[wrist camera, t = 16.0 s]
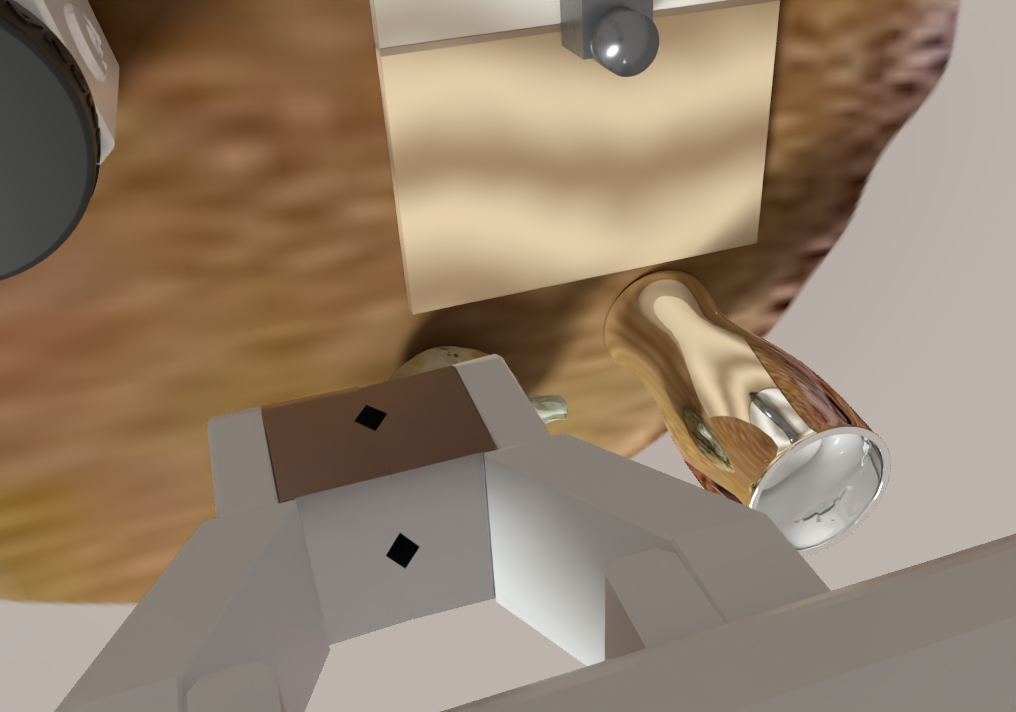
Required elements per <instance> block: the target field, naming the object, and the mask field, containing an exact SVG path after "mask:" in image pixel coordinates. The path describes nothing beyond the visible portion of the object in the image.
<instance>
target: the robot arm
mask: <svg viewBox="0 0 1016 712" xmlns="http://www.w3.org/2000/svg"><path fill="white" fill-rule="evenodd" d="M262 412H263V415H262ZM262 412H261V409H260V408H259V407H253V408H249V409H245V410H240V411H236V412H232V413H227V414H223V415H219V416H214V417H210V418H209V421H208V424H207V428H208V438H209V448H210V458H211V467H212V477H213V487H214V497H215V507H216V517H217V519H214V520H210V521H206V522H202V523H201V524H200V525H199V527H198V528H197V529H196V530H195V532H194V533H193V534H192V536H191V537H190V538H189V539H188V541H187V542H186V543H185V545H184V546H183V547H182V548H181V550H180V551H179V552H178V554H177V555H176V556H175V557H174V559H173V560H172V561H171V563H170V564H169V565H168V566H167V568H166V569H165V570H164V572H163V573H162V574H161V575H160V577H159V578H158V579H157V580H156V582H155V583H154V584H153V586H152V587H151V588H150V589H149V591H148V592H147V593H146V595H145V596H144V597H143V598H142V600H141V601H140V602H139V604H138V605H137V606H136V607H135V609H134V610H133V611H132V613H131V614H130V615H129V617H128V618H127V619H126V620H125V622H124V623H123V624H122V625H121V627H120V628H119V629H118V630H117V632H116V633H115V634H114V636H113V637H112V638H111V639H110V641H109V642H108V643H107V645H106V646H105V647H104V648H103V650H102V651H101V652H100V654H99V655H98V656H97V657H96V659H95V660H94V661H93V662H92V664H91V665H90V666H89V668H88V669H87V670H86V671H85V673H84V674H83V675H82V677H81V678H80V679H79V680H78V682H77V683H76V684H75V686H74V687H73V688H72V689H71V691H70V692H69V693H68V695H67V696H66V697H65V698H64V700H63V701H62V702H61V703H60V705H59V706H58V708H57V709H56V710H55V711H54V712H305V709H306V707H307V704H308V702H309V700H310V697H311V695H312V692H313V690H314V687H315V685H316V683H317V680H318V678H319V675H320V673H321V671H322V668H323V666H324V663H325V661H326V658H327V656H328V653H329V651H330V648H329V645H331V644H334V643H337V642H341V641H344V640H347V639H350V638H353V637H357V636H360V635H363V634H366V633H370V632H373V631H376V630H379V629H383V628H386V627H389V626H392V625H395V624H398V623H402V622H405V621H408V620H411V619H415V618H419V617H423V616H426V615H431V614H435V613H439V612H442V611H446V610H450V609H454V608H458V607H462V606H466V605H470V604H474V603H478V602H481V601H486V600H490V599H493V598H496V602H497V603H499V604H500V605H502V606H503V607H505V608H506V609H507V610H509V611H510V612H512V613H513V614H515V615H516V616H517V617H519V618H520V619H521V620H523V621H524V622H526V623H527V624H528V625H530V626H531V627H533V628H534V629H535V630H537V631H538V632H540V633H541V634H542V635H544V636H545V637H547V638H548V639H550V640H551V641H552V642H554V643H555V644H557V645H558V646H559V647H561V648H562V649H564V650H565V651H566V652H568V653H569V654H571V655H572V656H574V657H575V658H576V659H578V660H579V661H581V662H582V663H583V664H585V665H586V667H583V668H580V669H577V670H573V671H570V672H567V673H564V674H560V675H557V676H554V677H551V678H548V679H544V680H541V681H538V682H535V683H532V684H528V685H525V686H522V687H519V688H515V689H512V690H509V691H506V692H502V693H499V694H496V695H493V696H490V697H486V698H483V699H480V700H477V701H473V702H471V703H467V704H464V705H461V706H457V707H454V708H451V709H448V710H445V711H441V712H1016V534H1013V535H1010V536H1007V537H1004V538H1001V539H998V540H994V541H991V542H988V543H985V544H981V545H978V546H975V547H972V548H969V549H966V550H962V551H959V552H956V553H953V554H950V555H947V556H943V557H940V558H937V559H934V560H931V561H927V562H924V563H921V564H918V565H914V566H911V567H908V568H905V569H902V570H898V571H895V572H892V573H888V574H885V575H882V576H879V577H876V578H872V579H869V580H866V581H862V582H859V583H856V584H853V585H850V586H846V587H843V588H840V589H837V590H833V591H831V590H830V589H829V588H828V587H827V586H826V584H825V583H824V582H823V581H822V580H821V579H820V578H819V576H818V575H817V574H816V573H815V571H814V570H813V569H812V568H811V567H810V565H809V564H808V563H807V562H806V561H805V560H804V558H803V557H802V556H801V555H800V554H799V552H798V551H797V550H796V549H795V548H794V546H793V545H792V544H791V543H790V542H789V541H788V539H787V538H786V537H785V536H784V535H783V533H782V532H781V531H780V530H779V529H778V527H777V526H776V525H775V524H774V523H773V521H772V520H771V519H770V518H769V517H768V516H767V514H765V513H762V512H760V511H757V510H755V509H752V508H750V507H747V506H745V505H742V504H740V503H737V502H735V501H732V500H730V499H727V498H725V497H722V496H720V495H717V494H715V493H712V492H710V491H707V490H705V489H702V488H700V487H697V486H695V485H692V484H690V483H687V482H685V481H682V480H680V479H677V478H675V477H672V476H670V475H667V474H665V473H662V472H660V471H657V470H655V469H652V468H650V467H647V466H645V465H642V464H640V463H637V462H635V461H632V460H630V459H627V458H625V457H622V456H620V455H617V454H615V453H612V452H610V451H607V450H605V449H602V448H600V447H598V446H595V445H593V444H590V443H588V442H585V441H583V440H580V439H578V438H575V437H573V436H570V435H568V434H560V435H556V436H551V434H550V433H549V431H548V429H547V428H546V426H545V425H544V423H543V421H542V420H541V418H540V417H539V415H538V414H537V412H536V410H535V409H534V407H533V406H532V404H531V402H530V401H529V399H528V398H527V396H526V394H525V393H524V391H523V390H522V388H521V387H520V385H519V383H518V382H517V380H516V379H515V377H514V375H513V374H512V372H511V371H510V369H509V368H508V366H507V364H506V363H505V361H504V360H503V358H502V357H501V356H499V355H497V354H492V355H488V356H484V357H480V358H477V359H473V360H469V361H465V362H461V363H457V364H453V365H451V366H447V367H443V368H439V369H435V370H431V371H427V372H423V373H419V374H415V375H411V376H407V377H403V378H398V379H394V380H390V381H386V382H382V383H378V384H374V385H370V386H366V387H362V388H359V387H355V388H350V389H345V390H340V391H335V392H330V393H325V394H320V395H315V396H310V397H305V398H300V399H295V400H290V401H285V402H280V403H275V404H270V405H265V406H262ZM263 418H264V419H263Z"/></svg>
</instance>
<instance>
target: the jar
mask: <svg viewBox="0 0 1016 712" xmlns="http://www.w3.org/2000/svg"><path fill="white" fill-rule="evenodd" d="M119 74H120V67H119V65H118V63H117V61H116V58H115V56H114V54H113V52H112V50H111V48H110V46H109V44H108V42H107V40H106V38H105V35H104V33H103V31H102V29H101V27H100V25H99V23H98V21H97V19H96V17H95V15H94V12H93V10H92V8H91V6H90V4H89V2H88V0H0V281H1V280H4V279H7V278H10V277H12V276H15V275H17V274H20V273H22V272H24V271H26V270H28V269H30V268H32V267H33V266H35V265H37V264H38V263H40V262H41V261H43V260H44V259H46V258H47V257H48V256H50V255H51V254H52V253H53V252H54V251H56V250H57V249H58V248H59V247H60V246H61V245H62V244H63V243H64V242H65V241H66V240H67V239H68V237H69V236H70V235H71V234H72V232H73V231H74V230H75V228H76V227H77V225H78V224H79V222H80V220H81V219H82V217H83V215H84V213H85V211H86V209H87V206H88V204H89V201H90V198H91V197H92V195H93V192H94V190H95V187H96V183H97V179H98V173H99V166H100V165H101V164H102V162H103V161H104V160H105V159H106V158H107V156H108V155H109V154H110V153H111V152H112V150H113V149H114V147H115V136H116V121H117V105H118V90H119Z"/></svg>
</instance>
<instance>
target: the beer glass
mask: <svg viewBox="0 0 1016 712" xmlns="http://www.w3.org/2000/svg"><path fill="white" fill-rule="evenodd" d="M604 339H605V345H606V348H607V351H608V353H609V355H610V356H611V358H612V359H613V360H614V361H615V362H616V363H617V364H618V365H619V366H620V367H621V368H623V369H624V370H626V371H627V372H629V373H630V374H632V375H633V376H634V377H636V378H637V379H638V380H639V381H641V383H642V384H643V385H644V386H645V387H646V388H647V390H648V391H649V393H650V394H651V396H652V398H653V400H654V401H655V403H656V405H657V407H658V410H659V412H660V414H661V416H662V418H663V420H664V423H665V425H666V427H667V429H668V431H669V433H670V435H671V437H672V439H673V441H674V443H675V445H676V447H677V449H678V450H679V452H680V454H681V456H682V458H683V459H684V461H685V463H686V464H687V466H688V467H689V469H690V470H691V471H692V473H693V474H694V476H695V477H696V478H697V480H698V481H699V483H700V484H701V485H702V487H703V488H704V489H705V490H707V491H710V492H712V493H715V494H717V495H720V496H722V497H725V498H727V499H730V500H732V501H735V502H737V503H740V504H742V505H745V506H747V507H750V508H752V509H755V510H757V511H760V512H762V513H765V514H767V516H768V517H769V518H770V519H771V520H772V521H773V523H774V524H775V525H776V526H777V527H778V529H779V530H780V531H781V532H782V533H783V535H784V536H785V537H786V538H787V539H788V541H789V542H790V543H791V544H792V545H793V546H794V548H795V549H796V550H797V551H798V552H799V554H800V555H801V556H802V557H804V556H808V555H812V554H815V553H818V552H820V551H822V550H825V549H827V548H829V547H831V546H833V545H834V544H836V543H838V542H840V541H841V540H843V539H844V538H846V537H847V536H848V535H849V534H851V533H852V532H853V531H854V530H855V529H856V528H858V527H859V526H860V525H861V524H862V523H863V522H864V521H865V520H866V519H867V518H868V516H869V515H870V514H871V513H872V511H873V510H874V508H875V507H876V506H877V504H878V503H879V501H880V499H881V498H882V495H883V494H884V491H885V489H886V487H887V484H888V481H889V477H890V470H891V460H890V454H889V450H888V448H887V446H886V444H885V443H884V441H883V440H882V439H881V438H880V437H879V436H878V435H877V434H876V433H874V432H873V431H872V430H871V428H869V426H868V425H867V424H866V423H865V422H864V421H863V420H862V419H861V417H860V416H859V415H858V414H857V413H856V412H855V411H854V410H853V409H852V407H850V406H849V404H848V403H847V402H846V401H845V400H844V399H843V398H842V397H841V396H840V395H839V394H838V393H837V392H836V391H835V390H834V389H833V388H832V387H831V386H830V385H829V384H828V383H826V382H825V381H824V380H823V379H822V378H821V377H820V376H819V375H817V374H816V373H815V372H814V371H812V370H811V369H810V368H809V367H808V366H806V365H805V364H804V363H803V362H801V361H800V360H798V359H796V358H795V357H793V356H792V355H790V354H789V353H787V352H786V351H784V350H782V349H781V348H779V347H777V346H775V345H774V344H772V343H770V342H768V341H766V340H765V339H763V338H761V337H759V336H757V335H755V334H753V333H751V332H750V331H748V330H746V329H744V328H742V327H740V326H739V325H737V324H735V323H734V322H732V321H731V320H729V319H728V318H727V317H725V316H724V315H723V314H722V313H721V311H720V310H719V309H718V307H717V306H716V304H715V302H714V301H713V299H712V298H711V296H710V294H709V293H708V291H707V290H706V288H705V287H704V286H703V285H702V284H701V283H700V282H699V281H698V280H697V279H696V278H695V277H693V276H691V275H689V274H687V273H684V272H681V271H676V270H665V271H659V272H654V273H651V274H649V275H646V276H644V277H642V278H640V279H638V280H637V281H635V282H634V283H632V284H631V285H630V286H629V287H627V288H626V289H625V290H624V291H623V292H622V293H621V294H620V296H619V297H618V298H617V299H616V301H615V302H614V304H613V305H612V307H611V309H610V311H609V314H608V316H607V319H606V323H605V329H604Z"/></svg>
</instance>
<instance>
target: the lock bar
mask: <svg viewBox="0 0 1016 712" xmlns="http://www.w3.org/2000/svg"><path fill="white" fill-rule="evenodd" d="M560 17H561V40H562V46H563V47H565V48H566V49H568V50H569V51H571V52H572V53H574V54H575V55H577V56H578V57H580V58H581V59H583V60H586V59H592V60H594V61H595V62H597V63H598V64H600V65H601V66H603V67H605V68H606V69H608V70H609V71H611V72H612V73H614V74H616V75H618V76H621V77H632V76H636V75H638V74H640V73H642V72H643V71H645V70H646V69H647V68H648V67H649V66H650V65H651V63H652V62H653V61H654V59H655V57H656V55H657V52H658V48H659V33H658V29H657V27H656V25H655V24H654V22H653V0H560Z"/></svg>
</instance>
